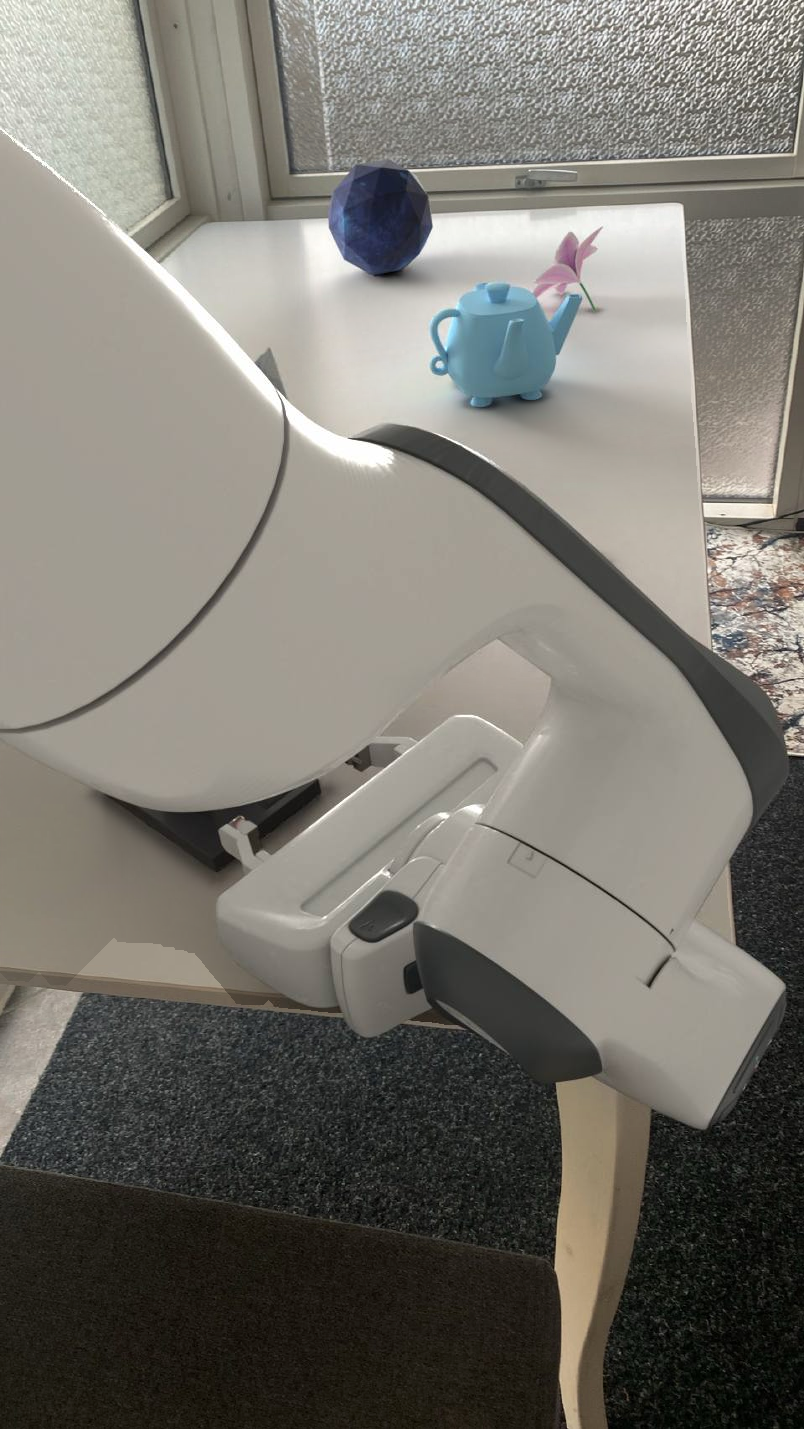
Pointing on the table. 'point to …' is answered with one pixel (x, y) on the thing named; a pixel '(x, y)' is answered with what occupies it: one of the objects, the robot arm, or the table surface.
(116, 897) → the table surface
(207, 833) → the pivoting lever stand
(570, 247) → the lily
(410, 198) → the decorative orb
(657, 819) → the robot arm
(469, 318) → the teapot
